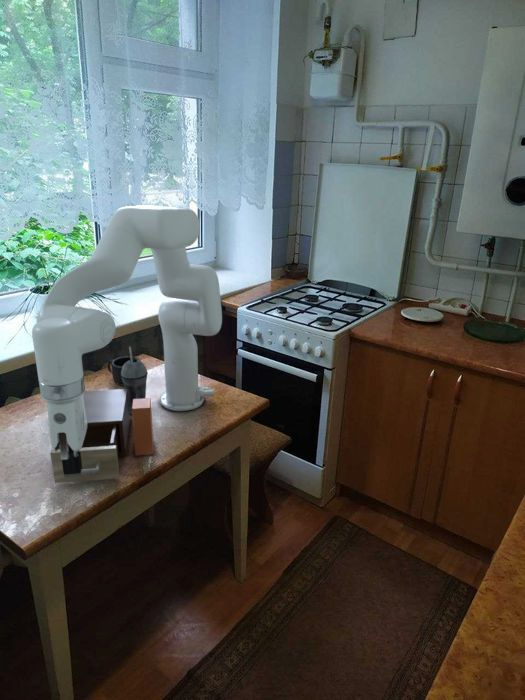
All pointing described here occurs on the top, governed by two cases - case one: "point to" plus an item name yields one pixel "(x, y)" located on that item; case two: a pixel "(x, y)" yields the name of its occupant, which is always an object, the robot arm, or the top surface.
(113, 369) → the mug
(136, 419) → the block
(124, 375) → the beverage cup
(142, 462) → the top surface
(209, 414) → the top surface
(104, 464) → the drawer
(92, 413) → the cabinet
